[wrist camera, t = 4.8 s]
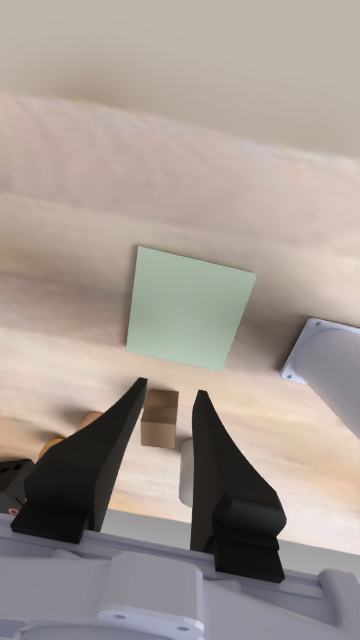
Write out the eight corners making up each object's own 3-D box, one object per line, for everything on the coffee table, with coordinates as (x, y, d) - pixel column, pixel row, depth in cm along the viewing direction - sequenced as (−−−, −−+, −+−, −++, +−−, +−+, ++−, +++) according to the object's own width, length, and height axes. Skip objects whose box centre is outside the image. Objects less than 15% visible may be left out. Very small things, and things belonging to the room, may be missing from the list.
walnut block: (178, 391, 24) (175, 424, 19) (177, 412, 25) (174, 448, 20) (150, 389, 24) (140, 421, 19) (150, 410, 25) (141, 445, 20)
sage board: (254, 273, 18) (258, 273, 17) (220, 367, 22) (221, 372, 21) (141, 246, 17) (138, 245, 16) (128, 346, 21) (125, 350, 21)
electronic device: (-15, 462, 33) (-49, 496, 28) (31, 457, 31) (3, 492, 27) (7, 485, 35) (-21, 520, 30) (51, 481, 34) (29, 517, 29)
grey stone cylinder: (216, 441, 27) (222, 490, 21) (207, 461, 28) (211, 511, 23) (185, 435, 26) (183, 482, 21) (178, 455, 28) (175, 504, 23)
